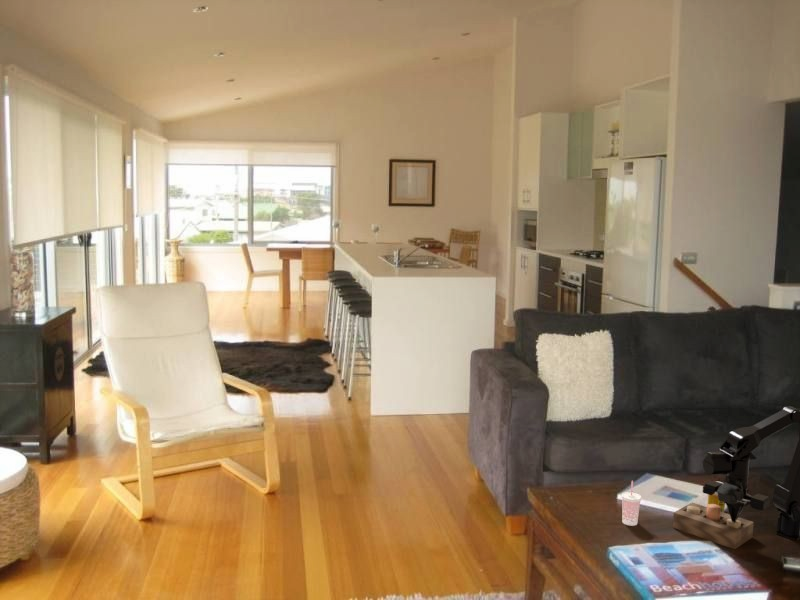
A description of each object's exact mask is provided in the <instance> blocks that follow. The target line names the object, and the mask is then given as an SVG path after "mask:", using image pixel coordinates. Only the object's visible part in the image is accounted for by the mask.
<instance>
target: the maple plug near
mask: <svg viewBox="0 0 800 600" xmlns="http://www.w3.org/2000/svg"><path fill="white" fill-rule="evenodd" d="M726 525H728V526H731V527H734V528H737V529H738V528H740V527H741V522H740V521H739V520H736V522H732V520H731V519H727V524H726Z"/></svg>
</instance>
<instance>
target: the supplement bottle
mask: <svg viewBox="0 0 800 600" xmlns="http://www.w3.org/2000/svg"><path fill="white" fill-rule="evenodd" d="M715 481H716V480H715ZM716 482H720V483H722V484H723V483H724V482H721V481H716ZM708 504H716V505H719V506H720V507H721V512H724V513H725V510H726V509H725V507H726V504H725V503H724V502H723V501H719V500H718V492H715V493H714V494H713V495H709V494H707V505H708Z"/></svg>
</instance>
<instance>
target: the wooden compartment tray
mask: <svg viewBox="0 0 800 600" xmlns="http://www.w3.org/2000/svg"><path fill="white" fill-rule="evenodd" d="M688 506H696V507H699V508H700V514H698V515H695V514H692V513H689V512H687V507H688ZM706 514H707V506H705V505H701V504H698V503H695V502H689V504H686V505H685V506H683V507H681V508H680V509H677V510H676V511H674V512H673V519H672V529H677V530H679V531H682V532H684V533H688V534H689V535H693V536H696V537H698V538H702V539H705V540H706V541H710V542H713V543H715V544H719V545H721V546H724V547H726V548H727V547H728V548H730V549H733V550H736V549H737V548H739V547H741V546H742V545H744V544H745V543H746V542H748V541H749V540H750V539H752V538H753V535H754V521H751V520H748V519H746V518H742V517H740V516H739V517H738V519H737V520H739V521H740V522H741V527H740V528H738V529H737V528H734V527H731V526H728V525H726V524H727V519H731V517H730V513H728V512H727V513H726V512H725V511H724V512H721V513H720V520H719V521H718V522H716V521H713V520H710V519H707V518H706Z"/></svg>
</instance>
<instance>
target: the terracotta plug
mask: <svg viewBox="0 0 800 600" xmlns="http://www.w3.org/2000/svg"><path fill="white" fill-rule="evenodd" d="M706 507H707V514H706V518H707V519H710V520H713V521H716V522H718V521H719V520H720V513H721V507H720V506H719V505H716V504H708V503H707V506H706Z"/></svg>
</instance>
